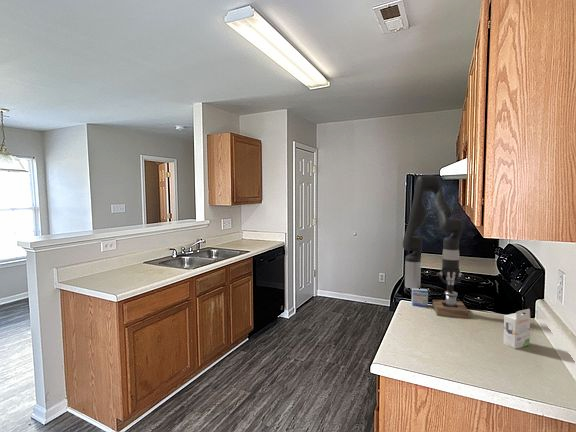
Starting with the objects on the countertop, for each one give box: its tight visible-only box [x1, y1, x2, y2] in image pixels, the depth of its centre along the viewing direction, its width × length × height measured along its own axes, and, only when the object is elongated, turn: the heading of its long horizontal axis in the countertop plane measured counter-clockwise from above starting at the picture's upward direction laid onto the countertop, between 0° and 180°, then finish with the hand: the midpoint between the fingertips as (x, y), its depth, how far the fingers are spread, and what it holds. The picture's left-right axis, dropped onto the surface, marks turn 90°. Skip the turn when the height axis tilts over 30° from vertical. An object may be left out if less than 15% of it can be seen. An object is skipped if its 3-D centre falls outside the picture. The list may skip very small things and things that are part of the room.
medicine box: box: [411, 288, 429, 308], centre depth 173 cm, size 8×4×9 cm, turn 73°
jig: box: [431, 299, 470, 319], centre depth 162 cm, size 14×14×4 cm
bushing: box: [444, 290, 458, 307], centre depth 162 cm, size 6×6×10 cm
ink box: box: [503, 308, 531, 350], centre depth 126 cm, size 9×5×15 cm, turn 111°
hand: (450, 291), depth 162 cm, fingers closed
